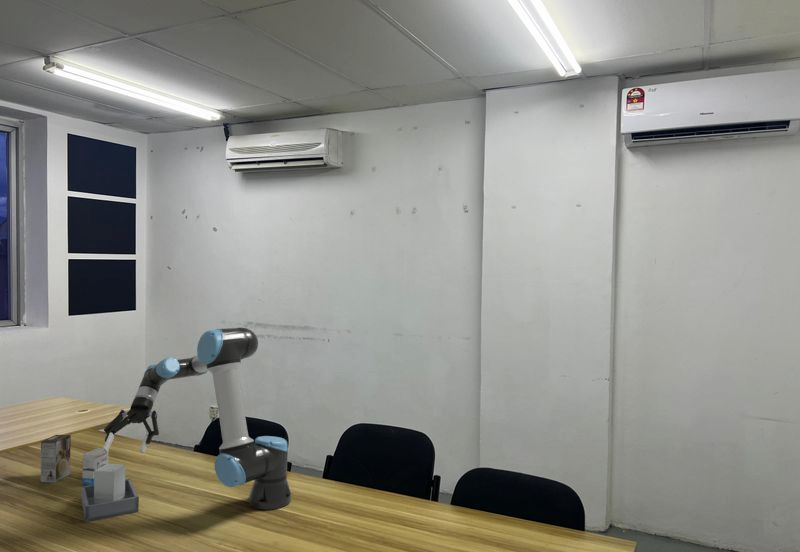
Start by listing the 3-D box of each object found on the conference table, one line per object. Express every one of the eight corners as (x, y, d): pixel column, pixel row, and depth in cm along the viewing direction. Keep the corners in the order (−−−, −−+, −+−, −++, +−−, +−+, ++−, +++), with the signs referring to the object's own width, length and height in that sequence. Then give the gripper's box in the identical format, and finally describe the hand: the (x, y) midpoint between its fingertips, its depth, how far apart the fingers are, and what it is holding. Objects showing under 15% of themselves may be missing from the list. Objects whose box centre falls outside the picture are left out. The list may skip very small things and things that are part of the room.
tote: (138, 511, 191) (138, 497, 191) (85, 522, 182) (85, 507, 182) (130, 491, 208) (130, 478, 208) (80, 500, 199) (81, 486, 199)
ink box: (92, 485, 213) (93, 455, 213) (81, 484, 214) (82, 454, 214) (108, 477, 221) (109, 448, 221) (97, 476, 222) (98, 447, 222)
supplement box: (125, 499, 198) (126, 464, 198) (113, 508, 191) (114, 471, 191) (105, 498, 199) (106, 463, 199) (92, 506, 192) (93, 470, 192)
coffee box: (54, 473, 224) (55, 434, 224) (70, 474, 224) (71, 434, 224) (39, 482, 215) (40, 440, 215) (56, 482, 215) (57, 441, 215)
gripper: (178, 406, 221) (160, 456, 206) (116, 405, 222) (94, 454, 207) (172, 396, 216) (153, 447, 201) (109, 394, 217) (86, 445, 202)
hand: (123, 451), depth 204 cm, fingers open, 13 cm apart
